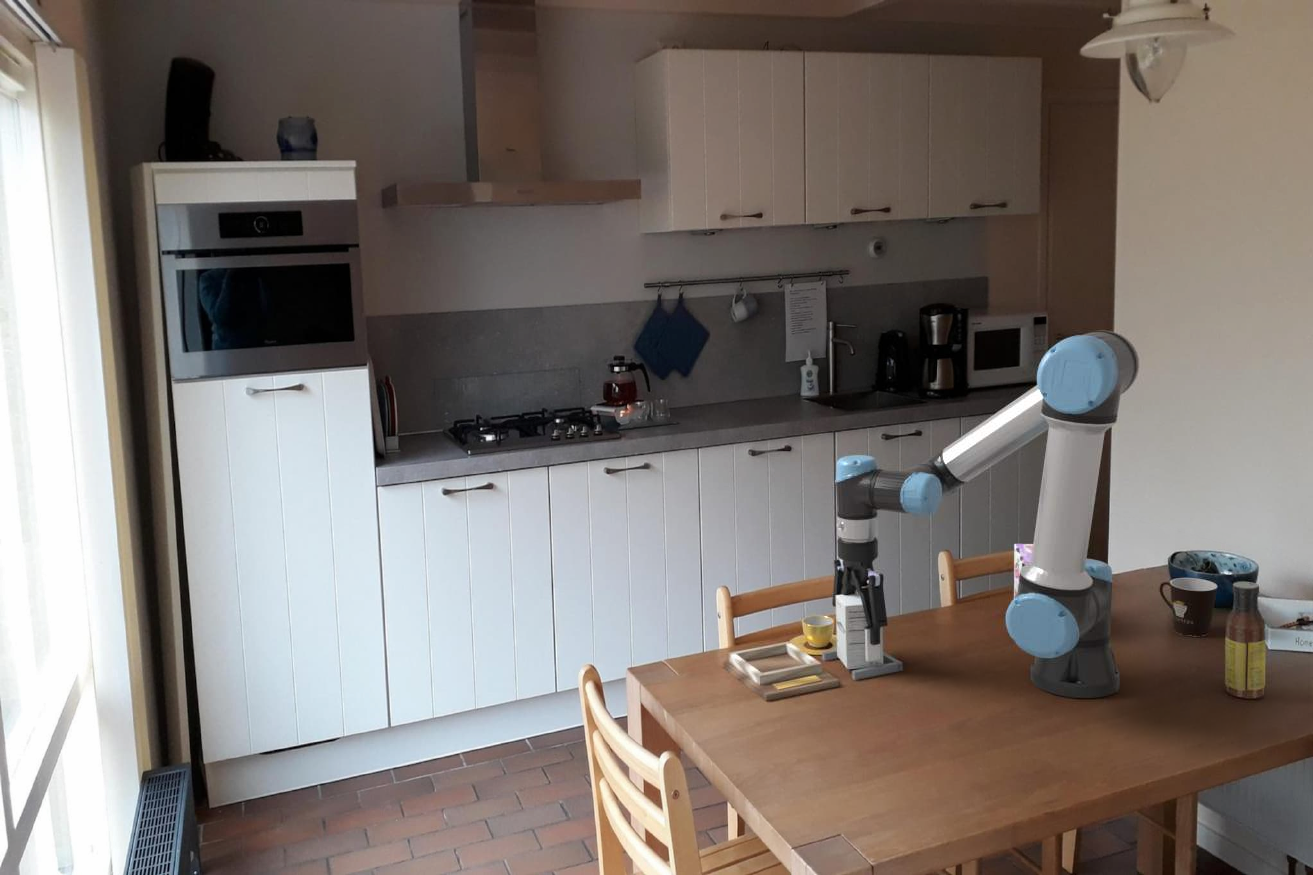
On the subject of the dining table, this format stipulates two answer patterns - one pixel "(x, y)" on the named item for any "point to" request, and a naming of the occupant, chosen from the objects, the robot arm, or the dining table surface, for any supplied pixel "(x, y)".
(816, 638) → the cup
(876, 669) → the bracket
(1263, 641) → the sauce bottle
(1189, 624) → the coffee mug
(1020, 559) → the candy box
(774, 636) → the dining table surface
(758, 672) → the board
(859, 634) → the supplement box
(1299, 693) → the dining table surface
